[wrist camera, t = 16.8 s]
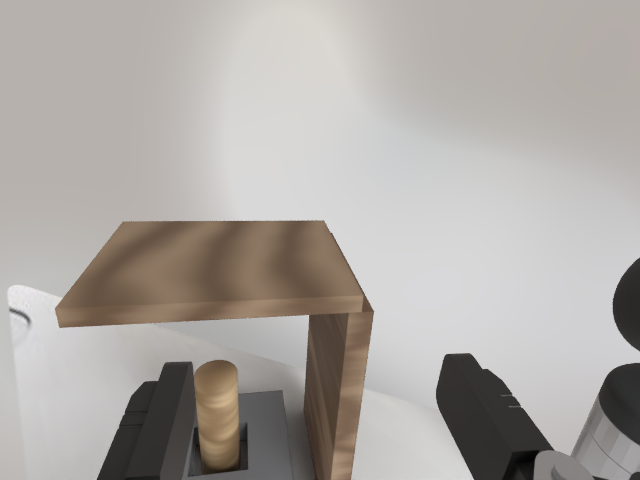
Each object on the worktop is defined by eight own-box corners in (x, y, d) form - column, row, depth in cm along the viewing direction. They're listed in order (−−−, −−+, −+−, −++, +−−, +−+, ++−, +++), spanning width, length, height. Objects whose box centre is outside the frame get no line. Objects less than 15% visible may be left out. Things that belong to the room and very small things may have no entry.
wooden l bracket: (317, 408, 55) (332, 220, 44) (343, 528, 41) (376, 294, 30) (152, 424, 51) (123, 221, 40) (117, 564, 37) (54, 308, 25)
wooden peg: (240, 447, 49) (237, 358, 43) (239, 481, 45) (237, 387, 39) (203, 451, 48) (196, 361, 42) (200, 486, 44) (191, 391, 38)
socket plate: (281, 406, 55) (282, 390, 54) (295, 526, 41) (296, 507, 40) (162, 417, 52) (160, 400, 51) (131, 551, 38) (127, 532, 37)
